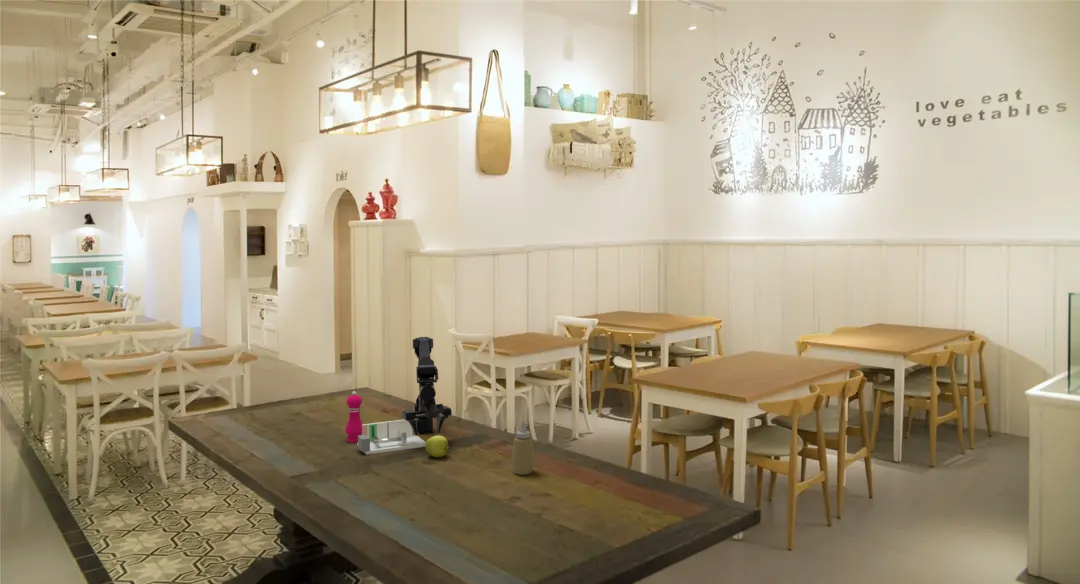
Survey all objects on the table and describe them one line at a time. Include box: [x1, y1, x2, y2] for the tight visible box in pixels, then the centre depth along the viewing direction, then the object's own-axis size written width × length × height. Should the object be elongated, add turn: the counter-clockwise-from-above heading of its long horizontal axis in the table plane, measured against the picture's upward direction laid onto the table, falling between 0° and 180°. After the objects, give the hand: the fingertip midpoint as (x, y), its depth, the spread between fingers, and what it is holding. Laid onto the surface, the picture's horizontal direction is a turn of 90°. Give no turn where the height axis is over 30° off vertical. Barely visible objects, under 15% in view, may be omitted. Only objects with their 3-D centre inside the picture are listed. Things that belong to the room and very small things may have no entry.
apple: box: [424, 435, 450, 458], centre depth 286 cm, size 8×9×8 cm
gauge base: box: [356, 419, 426, 456], centre depth 300 cm, size 26×13×8 cm, turn 117°
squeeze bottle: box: [511, 421, 536, 476], centre depth 267 cm, size 8×8×18 cm
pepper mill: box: [345, 390, 364, 444], centre depth 308 cm, size 7×7×20 cm
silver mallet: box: [372, 426, 407, 446], centre depth 299 cm, size 12×11×6 cm
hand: (427, 434), depth 303 cm, fingers open, 9 cm apart
